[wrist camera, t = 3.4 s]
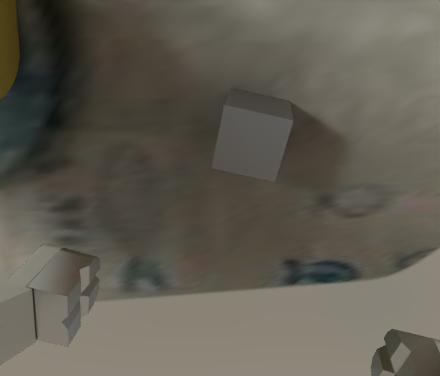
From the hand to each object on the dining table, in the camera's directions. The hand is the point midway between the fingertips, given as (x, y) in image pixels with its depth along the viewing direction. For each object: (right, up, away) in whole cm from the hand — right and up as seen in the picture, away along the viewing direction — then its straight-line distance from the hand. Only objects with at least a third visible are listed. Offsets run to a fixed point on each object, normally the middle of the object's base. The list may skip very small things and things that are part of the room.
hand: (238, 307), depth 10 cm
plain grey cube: (+2, +8, +15) cm, 17 cm away
